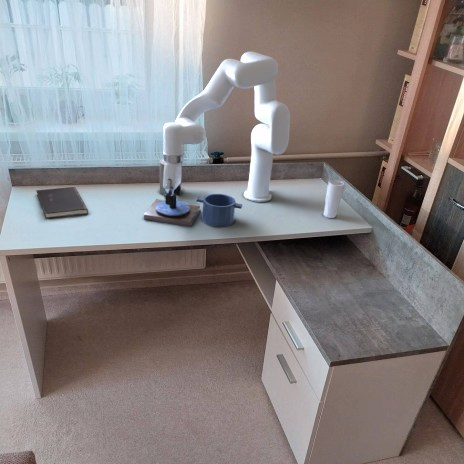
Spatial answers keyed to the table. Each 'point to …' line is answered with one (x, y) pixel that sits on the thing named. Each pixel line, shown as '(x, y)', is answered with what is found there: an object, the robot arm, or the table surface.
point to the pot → (218, 209)
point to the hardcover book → (61, 202)
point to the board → (180, 220)
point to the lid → (173, 208)
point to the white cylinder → (333, 197)
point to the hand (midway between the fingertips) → (173, 199)
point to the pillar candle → (162, 189)
